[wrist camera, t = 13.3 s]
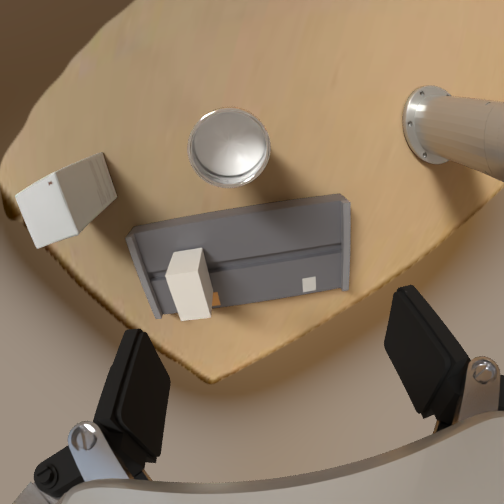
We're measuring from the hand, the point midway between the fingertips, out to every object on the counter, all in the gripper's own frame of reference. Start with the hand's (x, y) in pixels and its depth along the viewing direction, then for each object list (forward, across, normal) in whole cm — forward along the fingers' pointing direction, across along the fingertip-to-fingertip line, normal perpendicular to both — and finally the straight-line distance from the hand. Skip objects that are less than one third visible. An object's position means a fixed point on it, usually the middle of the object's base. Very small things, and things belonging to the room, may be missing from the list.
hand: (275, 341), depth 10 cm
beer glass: (+31, +1, -5) cm, 31 cm away
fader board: (+30, +2, +12) cm, 33 cm away
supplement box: (+31, +22, -3) cm, 38 cm away
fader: (+28, +9, +12) cm, 32 cm away
